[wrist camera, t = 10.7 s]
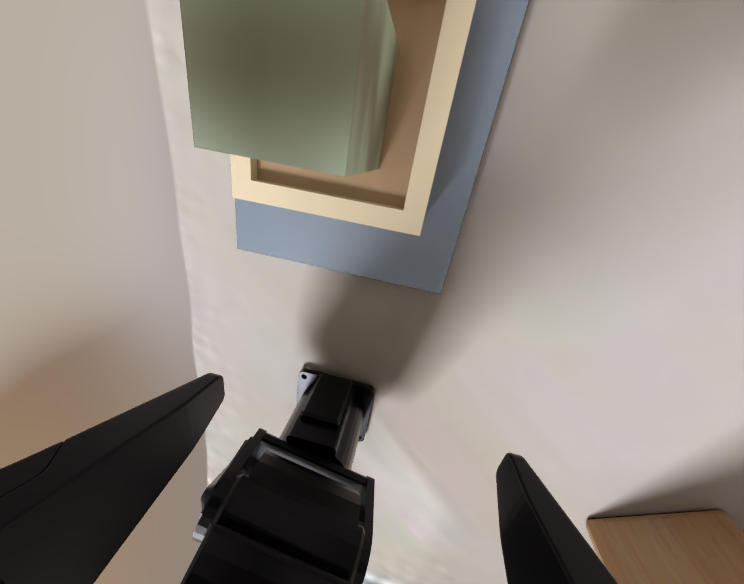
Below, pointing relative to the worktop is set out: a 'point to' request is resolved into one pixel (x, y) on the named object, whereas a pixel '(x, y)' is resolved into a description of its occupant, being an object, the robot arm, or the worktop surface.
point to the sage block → (291, 80)
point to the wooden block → (670, 548)
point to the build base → (445, 191)
